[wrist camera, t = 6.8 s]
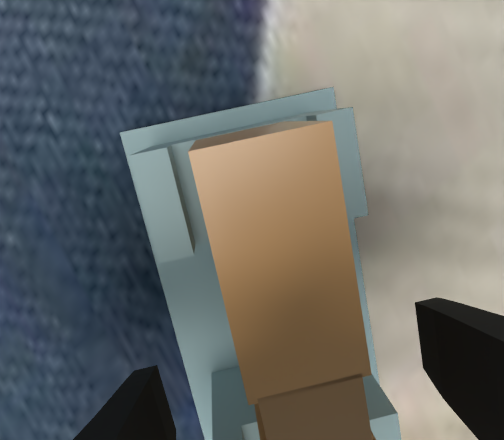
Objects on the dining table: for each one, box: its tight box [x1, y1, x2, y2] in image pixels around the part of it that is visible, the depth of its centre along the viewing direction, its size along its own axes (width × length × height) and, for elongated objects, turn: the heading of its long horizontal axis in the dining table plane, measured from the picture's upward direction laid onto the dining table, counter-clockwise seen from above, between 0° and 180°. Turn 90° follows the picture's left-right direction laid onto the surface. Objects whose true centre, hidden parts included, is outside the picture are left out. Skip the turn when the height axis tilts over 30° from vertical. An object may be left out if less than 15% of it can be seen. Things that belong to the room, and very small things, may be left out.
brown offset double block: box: [188, 121, 376, 440], centre depth 11 cm, size 3×12×5 cm, turn 11°
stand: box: [120, 87, 401, 440], centre depth 15 cm, size 8×14×6 cm, turn 12°
